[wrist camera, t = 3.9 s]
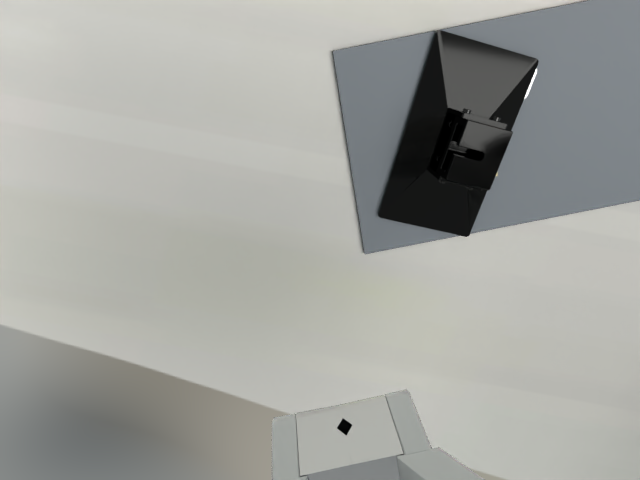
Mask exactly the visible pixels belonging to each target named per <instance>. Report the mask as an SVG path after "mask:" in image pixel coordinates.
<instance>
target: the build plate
mask: <svg viewBox="0 0 640 480" xmlns="http://www.w3.org/2000/svg"><path fill="white" fill-rule="evenodd" d="M538 63H539V61H538V59H536V58H533V57H530V56H526V55H523V54H520V53H516V52H513V51H510V50H506V49H503V48H500V47H496V46H493V45H489V44H486V43H483V42H479V41H476V40H473V39H469V38H466V37H462V36H459V35H456V34H452V33H449V32H446V31H442V30H437V31H435V33H434V35H433V39H432V42H431V45H430V48H429V51H428V54H427V58H426V61H425V64H424V67H423V70H422V73H421V77H420V80H419V83H418V86H417V89H416V92H415V96H414V99H413V102H412V105H411V108H410V111H409V115H408V118H407V121H406V124H405V127H404V130H403V134H402V137H401V140H400V143H399V146H398V149H397V153H396V156H395V159H394V162H393V165H392V168H391V172H390V175H389V178H388V181H387V184H386V187H385V191H384V194H383V197H382V200H381V203H380V206H379V210H378V216H379V217H380V218H383V219H388V220H392V221H397V222H401V223H406V224H411V225H415V226H420V227H424V228H429V229H433V230H438V231H442V232H447V233H451V234H456V235H461V236H465V237H467V236H469V235H470V232H471V230H472V227H473V225H474V222H475V220H476V217H477V215H478V212H479V210H480V207H481V205H482V203H483V200H484V198H485V195H486V193H487V190H490V189H491V186H492V184H493V181H494V179H495V176H496V174H497V171H498V169H499V167H500V164H501V162H502V159H503V157H504V154H505V152H506V149H507V147H508V144H509V142H510V139H511V137H512V134H513V131H511V130H512V128H513V125H514V123H515V120H516V118H517V115H518V113H519V110H520V108H521V106H522V103H523V101H524V99H525V98H526V97H527V96H528V93H529V91H530V88H531V86H532V83H533V81H534V78H535V76H536V73H537V66H538Z"/></svg>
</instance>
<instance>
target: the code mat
mask: <svg viewBox="0 0 640 480" xmlns="http://www.w3.org/2000/svg"><path fill="white" fill-rule="evenodd" d="M442 31H446V32H449V33H452V34H456V35H459V36H462V37H466V38H469V39H473V40H476V41H479V42H483V43H486V44H489V45H493V46H496V47H500V48H503V49H506V50H510V51H513V52H516V53H520V54H523V55H526V56H530V57H533V58H536V59H538V61H539V63H538V66H537V73H536V76H535V78H534V81H533V83H532V86H531V88H530V91H529V93H528V96H527V97H526V98H525V99H524V101H523V103H522V106H521V108H520V110H519V113H518V115H517V118H516V120H515V123H514V125H513V128H512V130H511V131H513V134H512V137H511V139H510V142H509V144H508V147H507V149H506V152H505V154H504V157H503V159H502V162H501V164H500V167H499V169H498V171H497V174H496V176H495V179H494V181H493V184H492V186H491V189H490V190H487V193H486V195H485V198H484V200H483V203H482V205H481V207H480V210H479V212H478V215H477V217H476V220H475V222H474V225H473V227H472V230H471V232H470V234H471V233H476V232H481V231H486V230H491V229H496V228H501V227H506V226H511V225H517V224H522V223H527V222H532V221H537V220H542V219H547V218H552V217H557V216H562V215H568V214H573V213H578V212H583V211H588V210H593V209H598V208H603V207H608V206H613V205H619V204H624V203H629V202H634V201H639V200H640V0H588V1H583V2H578V3H573V4H568V5H563V6H558V7H553V8H548V9H543V10H538V11H533V12H528V13H523V14H518V15H513V16H508V17H502V18H497V19H492V20H487V21H482V22H477V23H472V24H467V25H462V26H457V27H452V28H447V29H442ZM434 33H435V31H432V32H427V33H422V34H417V35H411V36H406V37H401V38H396V39H391V40H386V41H381V42H376V43H371V44H366V45H361V46H356V47H351V48H346V49H341V50H336V51H333V57H334V63H335V70H336V76H337V82H338V89H339V95H340V102H341V108H342V114H343V121H344V127H345V133H346V140H347V146H348V152H349V159H350V165H351V171H352V178H353V184H354V190H355V197H356V203H357V210H358V216H359V222H360V229H361V235H362V241H363V248H364V253H365V254H369V253H374V252H379V251H384V250H389V249H394V248H399V247H404V246H409V245H415V244H420V243H425V242H430V241H435V240H440V239H445V238H450V237H455V236H460V235H456V234H451V233H447V232H442V231H438V230H433V229H429V228H424V227H420V226H415V225H411V224H406V223H401V222H397V221H392V220H388V219H383V218H380V217H379V216H378V210H379V206H380V203H381V200H382V197H383V194H384V191H385V187H386V184H387V181H388V178H389V175H390V172H391V168H392V165H393V162H394V159H395V156H396V153H397V149H398V146H399V143H400V140H401V137H402V134H403V130H404V127H405V124H406V121H407V118H408V115H409V111H410V108H411V105H412V102H413V99H414V96H415V92H416V89H417V86H418V83H419V80H420V77H421V73H422V70H423V67H424V64H425V61H426V58H427V54H428V51H429V48H430V45H431V42H432V39H433V35H434Z"/></svg>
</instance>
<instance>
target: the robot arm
mask: <svg viewBox="0 0 640 480" xmlns="http://www.w3.org/2000/svg"><path fill="white" fill-rule="evenodd" d="M272 480H485V479H483V478H482V477H480V476H479V475H477V474H476V473H475V472H473V471H472V470H471V469H469V468H468V467H466V466H465V465H463V464H462V463H461V462H459V461H458V460H456V459H455V458H453V457H452V456H451V455H449V454H448V453H446V452H445V451H443V450H442V449H441V448H434V449H432V447H431V445H430V442H429V440H428V437H427V435H426V432H425V430H424V428H423V425H422V423H421V420H420V418H419V415H418V413H417V410H416V408H415V405H414V403H413V400H412V398H411V395H410V393H409V392H408V391H407V390H402V391H398V392H393V393H389V394H385V396H384V395H381V396H377V397H372V398H367V399H363V400H358V401H354V402H349V403H345V404H340V405H336V406H331V407H326V408H320V409H315V410H310V411H304V412H299V413H297V414H291V415H286V416H280V417H274V419H273V422H272Z"/></svg>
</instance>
